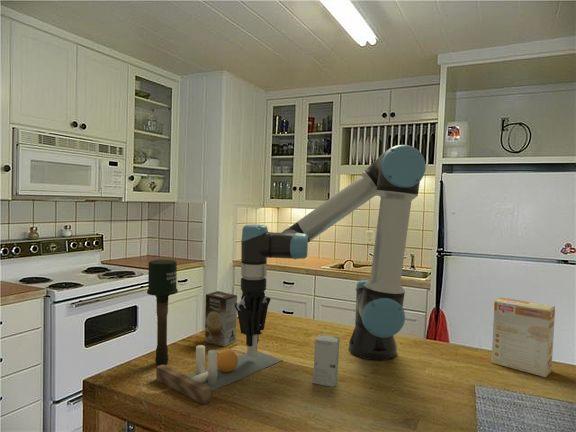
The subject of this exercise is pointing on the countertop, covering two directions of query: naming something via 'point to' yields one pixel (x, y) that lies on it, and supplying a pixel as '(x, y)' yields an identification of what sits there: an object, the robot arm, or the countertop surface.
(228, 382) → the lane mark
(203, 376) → the front pin
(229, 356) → the ball
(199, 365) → the pin
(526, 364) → the coffeecake box
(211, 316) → the coffee box
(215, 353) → the pin
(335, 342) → the skincare box
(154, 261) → the potato masher grenade
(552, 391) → the countertop surface
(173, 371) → the back wall
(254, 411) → the countertop surface
